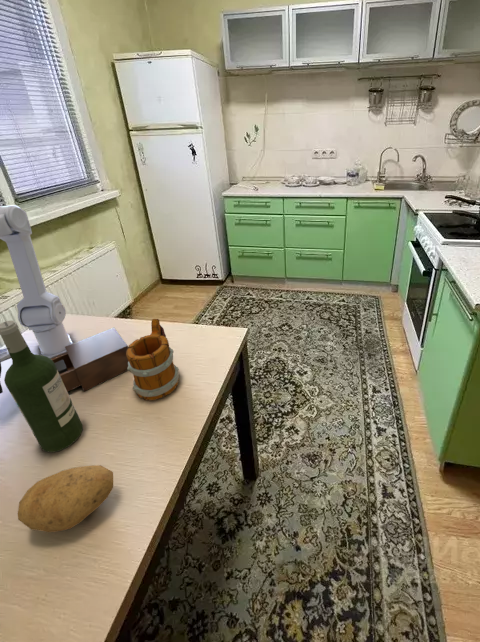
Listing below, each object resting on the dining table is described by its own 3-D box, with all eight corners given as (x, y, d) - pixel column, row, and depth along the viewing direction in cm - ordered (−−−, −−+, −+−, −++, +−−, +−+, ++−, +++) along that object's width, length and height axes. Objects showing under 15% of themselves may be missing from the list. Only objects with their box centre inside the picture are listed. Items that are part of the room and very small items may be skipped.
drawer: (24, 415, 75) (14, 397, 73) (19, 390, 82) (9, 373, 80) (99, 379, 85) (93, 362, 82) (89, 359, 92) (83, 343, 89)
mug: (129, 404, 78) (112, 356, 72) (149, 358, 93) (136, 315, 86) (174, 400, 79) (162, 352, 72) (187, 355, 94) (177, 312, 87)
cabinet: (84, 391, 83) (74, 368, 79) (73, 368, 90) (64, 346, 87) (134, 367, 90) (127, 345, 87) (120, 347, 98) (114, 327, 94)
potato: (117, 524, 55) (104, 497, 52) (21, 557, 52) (0, 530, 48) (124, 470, 64) (113, 444, 60) (41, 495, 60) (25, 469, 56)
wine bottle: (86, 438, 70) (34, 325, 57) (43, 460, 66) (-25, 344, 53) (80, 415, 76) (31, 307, 63) (39, 434, 72) (-22, 323, 58)
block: (68, 372, 86) (49, 380, 84) (62, 359, 84) (42, 367, 82) (72, 380, 83) (52, 390, 81) (66, 367, 81) (46, 376, 79)
